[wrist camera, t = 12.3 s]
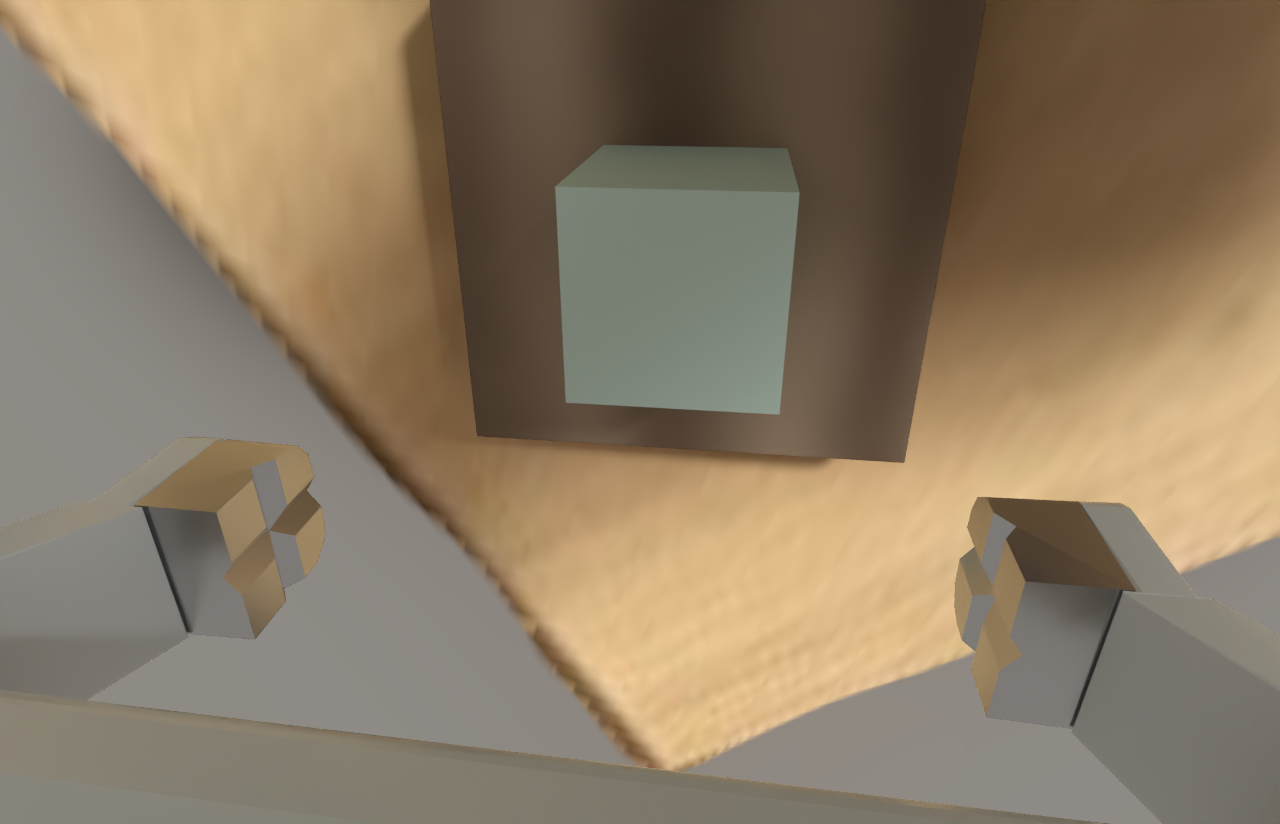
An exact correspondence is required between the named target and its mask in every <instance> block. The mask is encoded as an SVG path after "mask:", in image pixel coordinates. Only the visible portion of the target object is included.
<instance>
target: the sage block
mask: <svg viewBox="0 0 1280 824" xmlns="http://www.w3.org/2000/svg"><path fill="white" fill-rule="evenodd" d="M555 193H556V214H557V234H558V254H559V275H560V295H561V315H562V336H563V356H564V377H565V397H566V403H581V404H599V405H617V406H634V407H652V408H670V409H687V410H705V411H723V412H740V413H758V414H776V415H780V404H781V393H782V382H783V371H784V360H785V348H786V337H787V326H788V315H789V304H790V293H791V282H792V271H793V260H794V249H795V238H796V227H797V216H798V205H799V194H800V192H799V189H798V185H797V181H796V178H795V174H794V170H793V167H792V163H791V160H790V156H789V152H788V149H787V148H748V147H693V146H637V145H603V146H602V147H601V148H600V149H598V150H597V151H596V152H595V153H594V154H593V155H591V156H590V157H589V158H588V159H587V160H586V161H584V162H583V163H582V164H581V165H580V166H579V167H577V168H576V169H575V170H574V171H573V172H572V173H570V174H569V175H568V176H567V177H566V178H565V179H563V180H562V181H561V182H560V183H559V184H558V185H556V186H555Z"/></svg>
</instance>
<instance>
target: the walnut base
mask: <svg viewBox="0 0 1280 824" xmlns="http://www.w3.org/2000/svg"><path fill="white" fill-rule="evenodd" d="M985 6H986V0H430V7H431V16H432V25H433V34H434V43H435V53H436V62H437V71H438V80H439V89H440V99H441V108H442V117H443V126H444V135H445V145H446V154H447V163H448V172H449V181H450V191H451V200H452V209H453V218H454V227H455V237H456V246H457V255H458V264H459V273H460V282H461V292H462V301H463V310H464V319H465V328H466V338H467V347H468V356H469V365H470V374H471V384H472V393H473V402H474V411H475V420H476V430H477V436H484V437H500V438H516V439H532V440H548V441H564V442H580V443H596V444H612V445H628V446H644V447H660V448H676V449H692V450H708V451H724V452H740V453H756V454H772V455H788V456H804V457H820V458H836V459H852V460H868V461H884V462H900V463H904V461H905V455H906V450H907V444H908V438H909V433H910V427H911V422H912V416H913V410H914V405H915V399H916V393H917V388H918V382H919V377H920V371H921V365H922V360H923V354H924V349H925V343H926V337H927V332H928V326H929V320H930V315H931V309H932V304H933V298H934V292H935V287H936V281H937V275H938V270H939V264H940V259H941V253H942V247H943V242H944V236H945V230H946V225H947V219H948V214H949V208H950V202H951V197H952V191H953V185H954V180H955V174H956V169H957V163H958V157H959V152H960V146H961V140H962V135H963V129H964V124H965V118H966V112H967V107H968V101H969V95H970V90H971V84H972V79H973V73H974V67H975V62H976V56H977V51H978V45H979V39H980V34H981V28H982V22H983V17H984V11H985ZM603 145H637V146H693V147H748V148H787V149H788V152H789V156H790V160H791V163H792V167H793V170H794V174H795V178H796V181H797V185H798V189H799V192H800V194H799V205H798V216H797V227H796V238H795V249H794V260H793V271H792V282H791V293H790V304H789V315H788V326H787V337H786V348H785V360H784V371H783V382H782V393H781V404H780V415H776V414H758V413H740V412H723V411H705V410H687V409H670V408H652V407H634V406H617V405H599V404H581V403H566V397H565V377H564V356H563V336H562V315H561V295H560V275H559V254H558V234H557V214H556V193H555V186H556V185H558V184H559V183H560V182H561V181H562V180H563V179H565V178H566V177H567V176H568V175H569V174H570V173H572V172H573V171H574V170H575V169H576V168H577V167H579V166H580V165H581V164H582V163H583V162H584V161H586V160H587V159H588V158H589V157H590V156H591V155H593V154H594V153H595V152H596V151H597V150H598V149H600V148H601V147H602V146H603Z"/></svg>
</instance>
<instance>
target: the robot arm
mask: <svg viewBox="0 0 1280 824" xmlns="http://www.w3.org/2000/svg"><path fill="white" fill-rule="evenodd" d="M313 478H314V474H313V470H312V466H311V462H310V459H309V455H308V454H307V453H306V452H305V451H304V450H302V449H301V448H300V447H299V446H292V445H282V444H271V443H260V442H249V441H239V440H224V439H221V438H204V437H186V438H178V439H177V440H176V441H174V442H173V443H171V444H170V445H169V446H167V447H166V448H165V449H163V450H162V451H160V452H159V453H158V454H156V455H155V456H153V457H152V458H151V459H149V460H148V461H146V462H145V463H144V464H142V465H141V466H139V467H138V468H137V469H135V470H134V471H133V472H131V473H130V474H129V475H127V476H126V477H124V478H123V479H122V480H120V481H119V482H117V483H116V484H115V485H113V486H112V487H110V488H109V489H108V490H106V491H105V492H103V493H102V494H101V495H99V496H98V497H96V498H95V499H94V500H92V501H91V502H90V503H89V502H75V503H72V504H69V505H67V506H63V507H60V508H57V509H54V510H51V511H48V512H45V513H42V514H39V515H36V516H33V517H30V518H27V519H24V520H22V521H18V522H15V523H12V524H9V525H6V526H3V527H0V824H1107V823H1098V822H1090V821H1081V820H1073V819H1064V818H1056V817H1047V816H1038V815H1030V814H1021V813H1013V812H1005V811H997V810H987V809H980V808H971V807H964V806H955V805H946V804H939V803H931V802H922V801H915V800H906V799H898V798H890V797H882V796H874V795H866V794H865V795H864V794H857V793H848V792H841V791H832V790H824V789H816V788H808V787H800V786H792V785H783V784H775V783H767V782H759V781H751V780H742V779H735V778H726V777H717V776H710V775H701V774H694V773H685V772H677V771H669V770H661V769H653V768H644V767H636V766H628V765H619V764H611V763H603V762H594V761H586V760H578V759H570V758H561V757H553V756H544V755H536V754H528V753H519V752H510V751H503V750H494V749H486V748H477V747H469V746H460V745H452V744H444V743H436V742H427V741H419V740H410V739H402V738H394V737H385V736H377V735H368V734H360V733H352V732H343V731H335V730H327V729H318V728H309V727H302V726H293V725H284V724H277V723H269V722H260V721H252V720H244V719H236V718H227V717H219V716H210V715H202V714H194V713H186V712H178V711H169V710H161V709H153V708H145V707H136V706H128V705H120V704H112V703H104V702H96V701H87V700H88V699H89V698H91V697H93V696H94V695H96V694H97V693H99V692H101V691H102V690H104V689H106V688H107V687H109V686H110V685H112V684H114V683H115V682H117V681H119V680H120V679H122V678H123V677H125V676H127V675H128V674H130V673H132V672H133V671H135V670H136V669H138V668H140V667H141V666H143V665H144V664H146V663H148V662H149V661H151V660H153V659H154V658H156V657H157V656H159V655H161V654H162V653H164V652H166V651H167V650H169V649H170V648H172V647H174V646H175V645H177V644H179V643H180V642H182V641H183V640H185V639H187V638H188V634H194V635H206V636H219V637H232V638H245V639H256V638H257V636H258V635H259V634H260V633H261V632H262V630H263V629H264V628H265V627H266V625H267V624H268V623H269V622H270V620H271V619H272V618H273V617H274V616H275V614H276V613H277V612H278V611H279V609H280V608H281V607H282V606H283V604H284V603H285V602H286V598H285V592H284V588H286V587H288V586H290V585H292V584H294V583H296V582H297V581H299V580H301V579H303V578H305V577H306V576H307V575H308V573H309V572H310V571H311V569H312V568H313V567H314V565H315V564H316V563H317V561H318V558H319V555H320V552H321V549H322V546H323V543H324V533H325V522H324V517H323V512H322V508H321V506H320V504H318V502H317V501H316V500H315V499H314V498H313V497H312V496H311V495H310V494H309V493H308V491H307V488H308V487H309V485H310V483H311V482H312V480H313ZM967 528H968V531H969V533H970V536H971V539H972V541H973V544H974V548H973V549H971V550H970V551H969V552H968V553H966V554H965V555H964V556H963V557H962V558H960V560H959V565H958V571H957V576H956V581H955V603H954V607H955V614H956V620H957V625H958V629H959V632H960V636H961V639H962V641H964V642H965V643H966V644H967V645H968V646H970V647H971V648H972V649H973V650H974V651H976V653H975V657H974V661H973V665H972V668H971V670H972V674H973V677H974V680H975V683H976V686H977V689H978V692H979V695H980V698H981V702H982V704H983V707H984V711H985V714H986V717H987V718H995V719H1002V720H1010V721H1017V722H1025V723H1032V724H1040V725H1047V726H1055V727H1063V728H1070V729H1073V730H1072V733H1073V734H1074V735H1075V736H1076V737H1077V738H1078V739H1079V740H1080V741H1081V742H1082V743H1083V744H1084V745H1085V746H1086V747H1087V748H1088V749H1089V750H1090V751H1091V752H1092V753H1093V754H1094V755H1095V756H1096V757H1097V758H1098V759H1099V760H1100V761H1101V762H1102V763H1103V764H1104V765H1105V766H1106V767H1107V768H1108V769H1109V770H1110V771H1111V772H1112V773H1113V774H1114V775H1115V776H1116V777H1117V778H1118V779H1119V780H1120V781H1121V782H1122V783H1123V784H1124V785H1125V786H1126V787H1127V788H1128V789H1129V790H1130V791H1131V792H1132V793H1133V794H1134V795H1135V796H1136V797H1137V798H1138V799H1139V800H1140V801H1141V802H1142V803H1143V804H1144V805H1145V806H1146V807H1147V808H1148V809H1149V810H1150V811H1151V812H1152V813H1153V814H1154V815H1155V816H1156V817H1157V818H1158V819H1159V820H1160V821H1161V822H1162V823H1163V824H1280V636H1279V635H1277V634H1275V633H1273V632H1272V631H1270V630H1268V629H1266V628H1264V627H1263V626H1261V625H1259V624H1257V623H1255V622H1253V621H1252V620H1250V619H1248V618H1247V617H1245V616H1243V615H1241V614H1240V613H1238V612H1236V611H1234V610H1232V609H1231V608H1229V607H1227V606H1225V605H1224V604H1222V603H1220V602H1218V601H1216V600H1215V599H1209V598H1199V597H1196V596H1195V594H1194V593H1193V591H1192V590H1191V589H1190V587H1189V586H1188V585H1187V583H1186V582H1185V581H1184V579H1183V578H1182V577H1181V575H1180V574H1179V573H1178V571H1177V570H1176V569H1175V567H1174V566H1173V565H1172V563H1171V562H1170V561H1169V559H1168V558H1167V557H1166V555H1165V554H1164V553H1163V551H1162V550H1161V549H1160V547H1159V546H1158V545H1157V543H1156V542H1155V541H1154V539H1153V538H1152V537H1151V535H1150V534H1149V533H1148V531H1147V530H1146V529H1145V527H1144V526H1143V524H1142V523H1141V522H1140V520H1139V519H1138V518H1137V516H1136V515H1135V514H1134V512H1133V511H1132V510H1131V508H1129V507H1127V506H1125V505H1123V504H1121V503H1105V502H1078V501H1054V500H1034V499H1013V498H993V497H977V499H976V501H975V503H974V505H973V507H972V510H971V514H970V518H969V522H968V526H967Z"/></svg>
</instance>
